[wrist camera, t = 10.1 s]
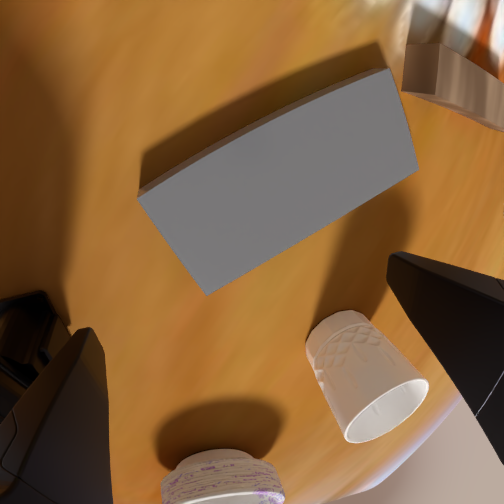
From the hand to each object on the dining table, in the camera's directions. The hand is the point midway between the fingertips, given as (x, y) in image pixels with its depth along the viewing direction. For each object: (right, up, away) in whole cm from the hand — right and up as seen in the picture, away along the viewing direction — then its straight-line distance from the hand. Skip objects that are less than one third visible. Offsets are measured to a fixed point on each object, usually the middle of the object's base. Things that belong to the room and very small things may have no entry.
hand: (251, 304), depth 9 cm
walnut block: (+12, +15, +9) cm, 21 cm away
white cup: (+8, -7, +21) cm, 24 cm away
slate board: (+3, +7, +12) cm, 14 cm away
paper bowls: (-5, -27, +28) cm, 39 cm away
